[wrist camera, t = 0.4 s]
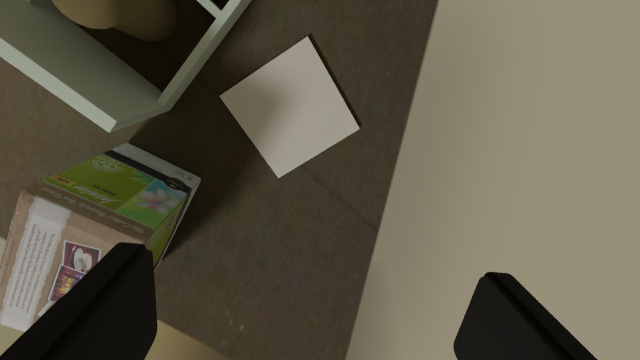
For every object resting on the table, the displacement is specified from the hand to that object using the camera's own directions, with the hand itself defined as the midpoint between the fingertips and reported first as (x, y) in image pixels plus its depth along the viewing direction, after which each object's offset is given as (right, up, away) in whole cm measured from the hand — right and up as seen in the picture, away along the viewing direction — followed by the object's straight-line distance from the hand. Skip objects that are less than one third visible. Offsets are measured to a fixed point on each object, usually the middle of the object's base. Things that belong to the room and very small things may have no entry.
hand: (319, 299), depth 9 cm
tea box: (-23, 0, +31) cm, 38 cm away
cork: (-18, +21, +23) cm, 36 cm away
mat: (-3, +12, +27) cm, 30 cm away
